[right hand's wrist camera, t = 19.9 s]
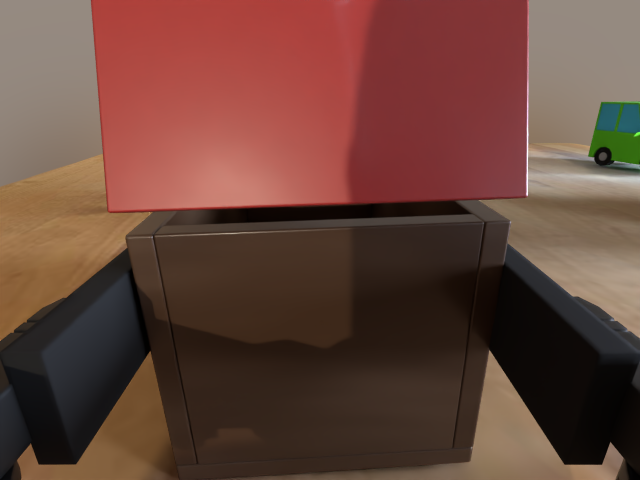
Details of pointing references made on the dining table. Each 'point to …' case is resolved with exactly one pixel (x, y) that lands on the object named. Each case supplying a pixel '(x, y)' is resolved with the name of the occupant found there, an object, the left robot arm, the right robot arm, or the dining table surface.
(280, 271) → the chest
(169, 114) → the lid
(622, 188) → the dining table surface
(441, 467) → the dining table surface
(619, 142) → the toy car
